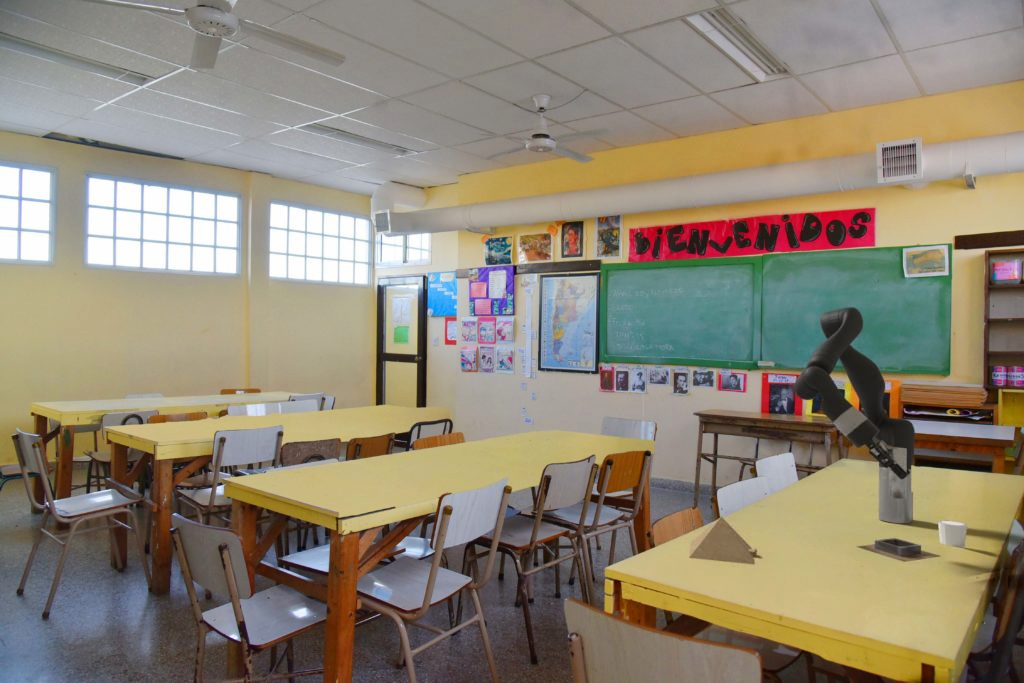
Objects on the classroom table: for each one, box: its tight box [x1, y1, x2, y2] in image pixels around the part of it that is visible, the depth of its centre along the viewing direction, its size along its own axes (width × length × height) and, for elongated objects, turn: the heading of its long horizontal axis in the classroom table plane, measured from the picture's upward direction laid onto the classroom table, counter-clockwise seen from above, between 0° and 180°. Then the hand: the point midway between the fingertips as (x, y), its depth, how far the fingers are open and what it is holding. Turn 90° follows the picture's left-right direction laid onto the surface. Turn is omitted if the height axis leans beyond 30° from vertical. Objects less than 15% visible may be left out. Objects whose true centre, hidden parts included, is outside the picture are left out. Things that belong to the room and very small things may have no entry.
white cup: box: [937, 519, 968, 550], centre depth 185 cm, size 7×7×7 cm
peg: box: [889, 446, 907, 499], centre depth 177 cm, size 4×4×13 cm
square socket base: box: [856, 537, 940, 563], centre depth 177 cm, size 14×14×3 cm
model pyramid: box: [688, 516, 758, 565], centre depth 177 cm, size 17×17×10 cm
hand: (906, 476), depth 176 cm, fingers closed on peg, 4 cm apart
